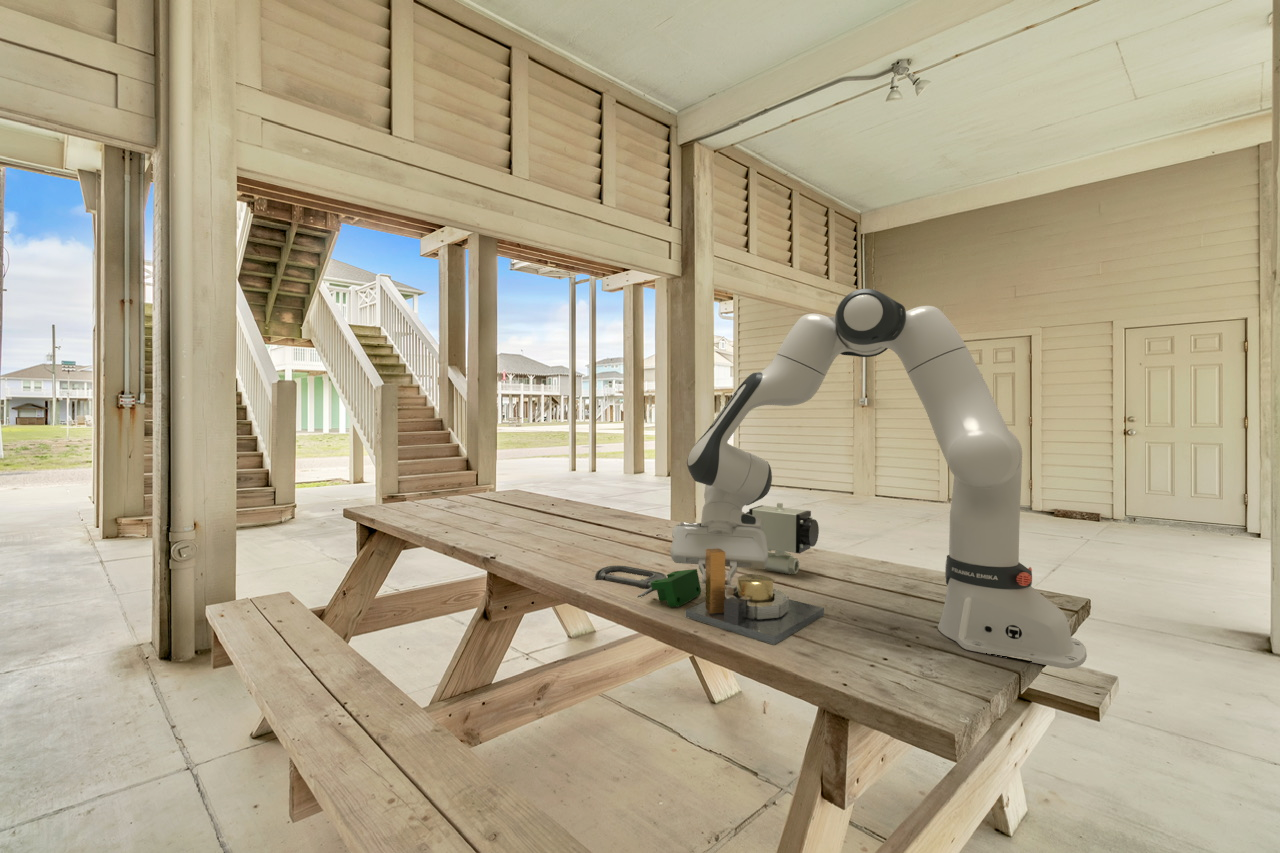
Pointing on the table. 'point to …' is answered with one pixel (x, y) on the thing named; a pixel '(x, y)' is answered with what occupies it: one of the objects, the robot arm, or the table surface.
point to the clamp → (678, 587)
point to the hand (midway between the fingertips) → (716, 583)
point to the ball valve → (786, 535)
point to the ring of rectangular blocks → (736, 591)
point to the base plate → (755, 628)
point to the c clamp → (642, 583)
